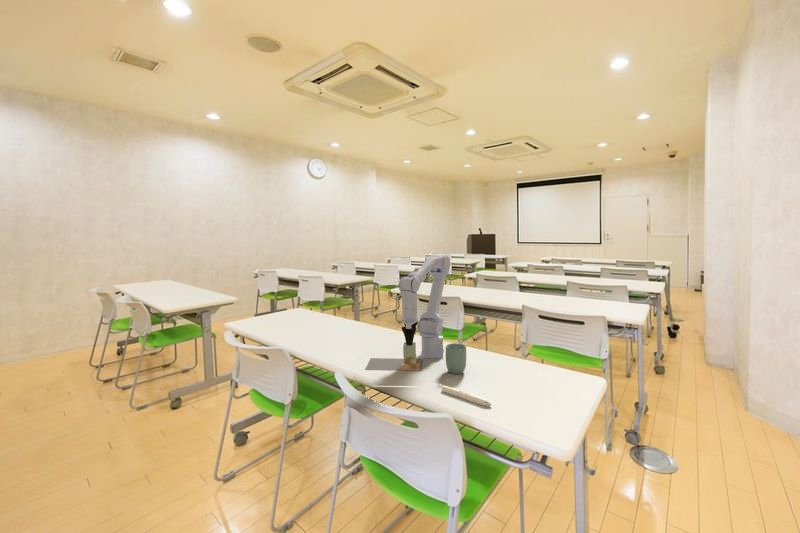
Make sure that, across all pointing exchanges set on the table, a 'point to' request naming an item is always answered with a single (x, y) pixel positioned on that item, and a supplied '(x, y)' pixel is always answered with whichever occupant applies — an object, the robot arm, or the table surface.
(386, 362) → the mat
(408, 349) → the sage block
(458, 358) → the cup
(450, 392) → the marker
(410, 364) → the maple block
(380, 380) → the table surface
